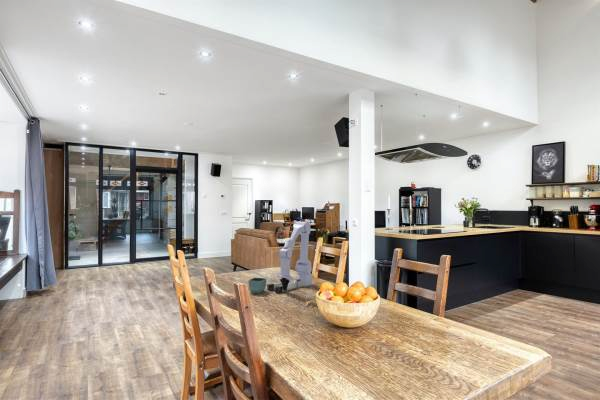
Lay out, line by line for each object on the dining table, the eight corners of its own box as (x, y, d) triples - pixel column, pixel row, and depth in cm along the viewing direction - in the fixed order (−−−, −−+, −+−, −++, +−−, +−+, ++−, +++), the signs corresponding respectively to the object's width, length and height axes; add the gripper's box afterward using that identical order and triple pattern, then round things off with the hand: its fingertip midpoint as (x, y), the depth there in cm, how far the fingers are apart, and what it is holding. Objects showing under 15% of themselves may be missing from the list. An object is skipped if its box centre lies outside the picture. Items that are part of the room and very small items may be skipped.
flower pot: (247, 295, 205) (247, 280, 205) (253, 291, 214) (254, 277, 214) (261, 296, 203) (261, 281, 203) (266, 292, 211) (266, 278, 211)
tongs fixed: (298, 285, 226) (298, 278, 226) (302, 286, 222) (302, 279, 222) (267, 290, 212) (267, 282, 212) (270, 291, 208) (270, 284, 208)
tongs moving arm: (293, 287, 220) (293, 281, 220) (296, 287, 218) (296, 282, 218) (275, 292, 206) (275, 286, 206) (277, 293, 204) (278, 287, 204)
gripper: (273, 267, 211) (273, 288, 211) (285, 270, 199) (285, 293, 199) (283, 266, 215) (283, 287, 215) (295, 269, 203) (295, 292, 203)
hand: (285, 290), depth 207 cm, fingers closed
